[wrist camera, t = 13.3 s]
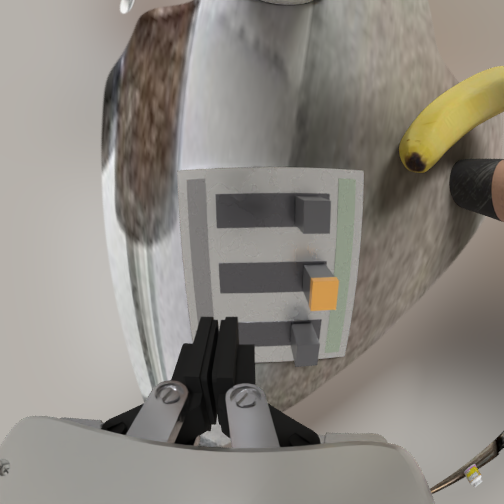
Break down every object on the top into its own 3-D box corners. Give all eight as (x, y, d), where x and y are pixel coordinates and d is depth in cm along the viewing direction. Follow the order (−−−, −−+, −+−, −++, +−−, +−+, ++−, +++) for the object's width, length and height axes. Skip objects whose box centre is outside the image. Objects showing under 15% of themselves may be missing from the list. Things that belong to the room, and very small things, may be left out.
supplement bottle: (473, 465, 63) (482, 482, 50) (462, 473, 63) (471, 490, 51) (475, 461, 61) (485, 478, 48) (464, 469, 62) (473, 486, 49)
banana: (396, 186, 29) (528, 214, 10) (369, 146, 28) (502, 133, 9) (479, 105, 25) (577, 95, 6) (460, 72, 24) (555, 46, 5)
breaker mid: (303, 264, 30) (312, 281, 25) (325, 263, 30) (339, 280, 25) (302, 290, 31) (310, 311, 26) (323, 289, 31) (335, 309, 26)
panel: (180, 170, 29) (177, 170, 27) (358, 170, 29) (363, 170, 27) (197, 355, 36) (195, 362, 34) (341, 350, 36) (344, 356, 34)
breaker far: (291, 324, 32) (297, 345, 28) (311, 323, 32) (319, 344, 28) (290, 344, 33) (295, 366, 29) (309, 343, 33) (317, 365, 29)
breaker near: (295, 196, 28) (303, 200, 24) (318, 196, 28) (331, 200, 24) (295, 224, 29) (303, 233, 25) (318, 224, 29) (329, 233, 25)
